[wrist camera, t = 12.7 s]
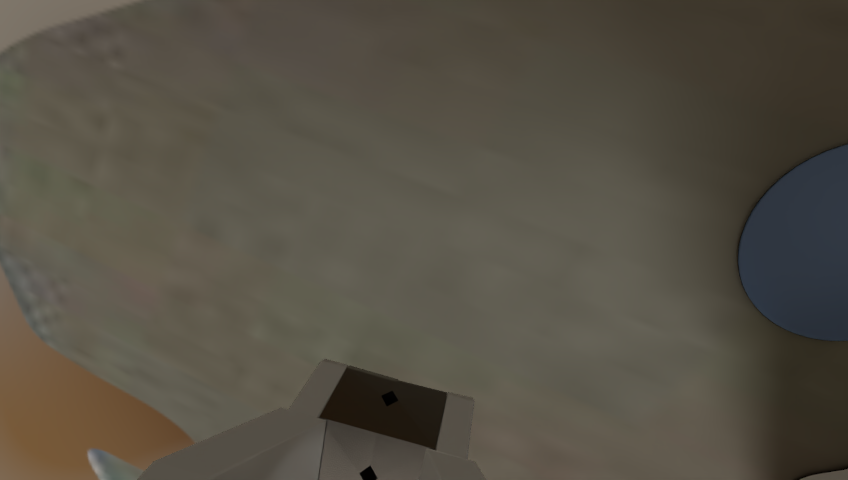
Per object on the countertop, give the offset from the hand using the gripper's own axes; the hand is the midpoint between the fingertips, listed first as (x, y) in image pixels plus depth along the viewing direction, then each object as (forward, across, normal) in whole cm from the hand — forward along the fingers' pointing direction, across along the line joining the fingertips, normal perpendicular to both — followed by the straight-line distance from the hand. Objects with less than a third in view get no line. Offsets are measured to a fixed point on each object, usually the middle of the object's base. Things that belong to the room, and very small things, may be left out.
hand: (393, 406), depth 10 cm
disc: (+22, +22, +1) cm, 31 cm away
